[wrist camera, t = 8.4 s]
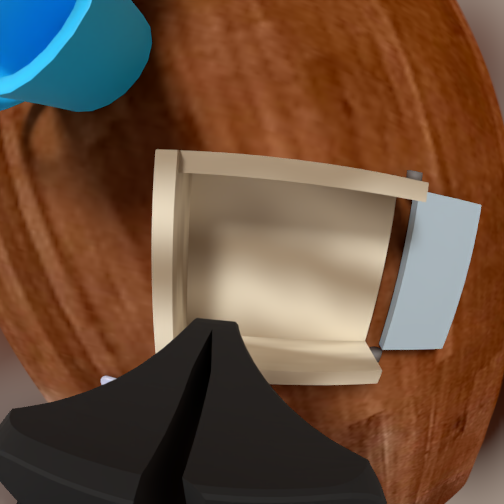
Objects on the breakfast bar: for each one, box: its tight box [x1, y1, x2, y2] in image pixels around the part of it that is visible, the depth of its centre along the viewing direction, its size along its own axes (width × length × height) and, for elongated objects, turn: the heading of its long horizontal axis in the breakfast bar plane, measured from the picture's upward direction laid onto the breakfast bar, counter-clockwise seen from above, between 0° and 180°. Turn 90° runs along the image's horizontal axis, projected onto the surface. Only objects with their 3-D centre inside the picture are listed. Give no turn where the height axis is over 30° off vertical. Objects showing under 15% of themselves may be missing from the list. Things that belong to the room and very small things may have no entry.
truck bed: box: [152, 149, 429, 385], centre depth 17 cm, size 13×15×5 cm
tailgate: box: [379, 192, 481, 350], centre depth 18 cm, size 11×1×5 cm
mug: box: [0, 0, 152, 112], centre depth 11 cm, size 12×8×8 cm
